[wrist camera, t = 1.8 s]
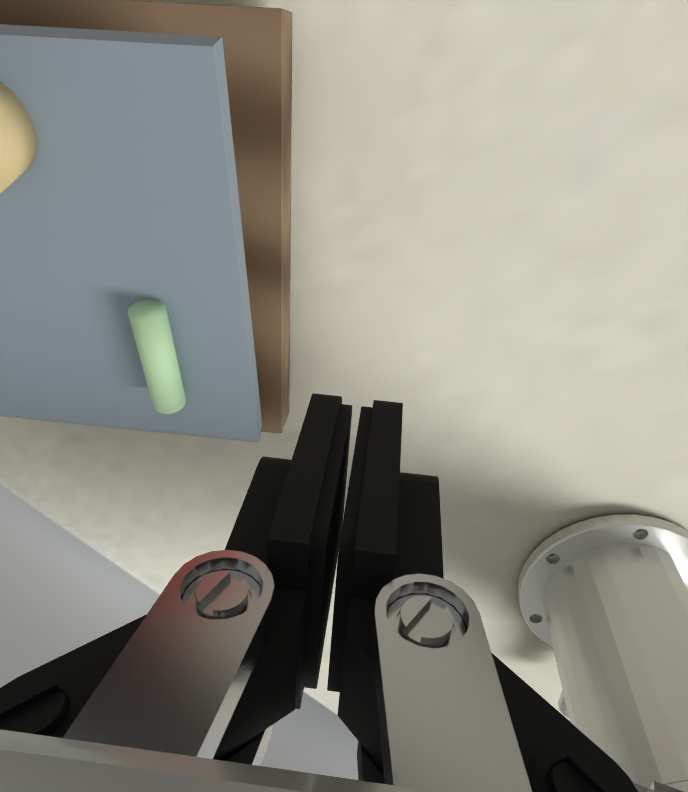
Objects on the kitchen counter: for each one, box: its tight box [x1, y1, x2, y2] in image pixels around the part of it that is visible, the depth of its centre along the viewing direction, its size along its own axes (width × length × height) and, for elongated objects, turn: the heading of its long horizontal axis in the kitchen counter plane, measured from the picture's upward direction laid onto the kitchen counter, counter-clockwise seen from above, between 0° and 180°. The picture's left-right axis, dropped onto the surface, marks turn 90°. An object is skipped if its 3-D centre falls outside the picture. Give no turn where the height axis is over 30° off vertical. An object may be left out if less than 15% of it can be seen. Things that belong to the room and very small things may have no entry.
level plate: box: [0, 24, 262, 442], centre depth 27 cm, size 19×18×3 cm
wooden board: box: [0, 0, 292, 433], centre depth 32 cm, size 20×20×4 cm
